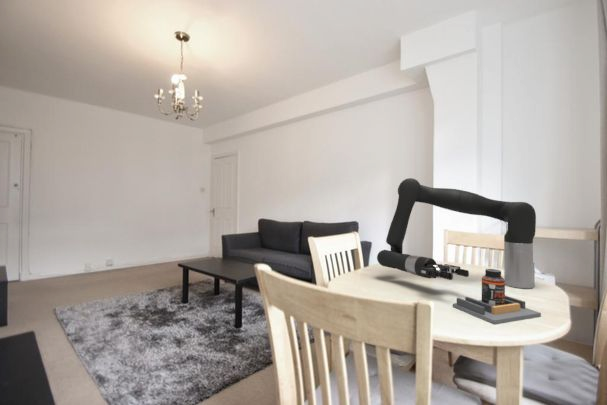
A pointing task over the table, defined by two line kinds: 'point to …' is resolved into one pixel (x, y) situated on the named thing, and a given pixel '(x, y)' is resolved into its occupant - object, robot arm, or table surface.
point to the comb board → (496, 310)
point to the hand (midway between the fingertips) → (460, 275)
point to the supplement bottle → (493, 288)
